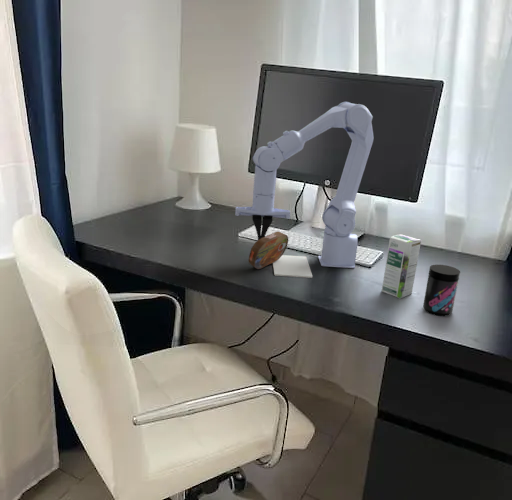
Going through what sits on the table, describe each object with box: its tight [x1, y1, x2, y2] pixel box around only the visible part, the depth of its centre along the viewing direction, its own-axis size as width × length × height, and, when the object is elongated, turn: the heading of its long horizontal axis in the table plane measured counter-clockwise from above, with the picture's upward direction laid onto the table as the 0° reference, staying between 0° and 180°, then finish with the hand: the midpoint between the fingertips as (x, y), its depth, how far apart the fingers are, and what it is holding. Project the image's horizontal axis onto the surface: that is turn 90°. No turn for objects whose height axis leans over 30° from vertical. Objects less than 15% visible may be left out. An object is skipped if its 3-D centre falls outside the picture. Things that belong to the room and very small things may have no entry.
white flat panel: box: [272, 254, 313, 279], centre depth 153 cm, size 10×16×1 cm, turn 1°
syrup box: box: [381, 234, 422, 300], centre depth 137 cm, size 6×6×14 cm
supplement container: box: [422, 264, 461, 317], centre depth 129 cm, size 7×7×10 cm
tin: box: [247, 231, 289, 270], centre depth 150 cm, size 15×3×8 cm, turn 143°
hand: (260, 242), depth 150 cm, fingers closed
